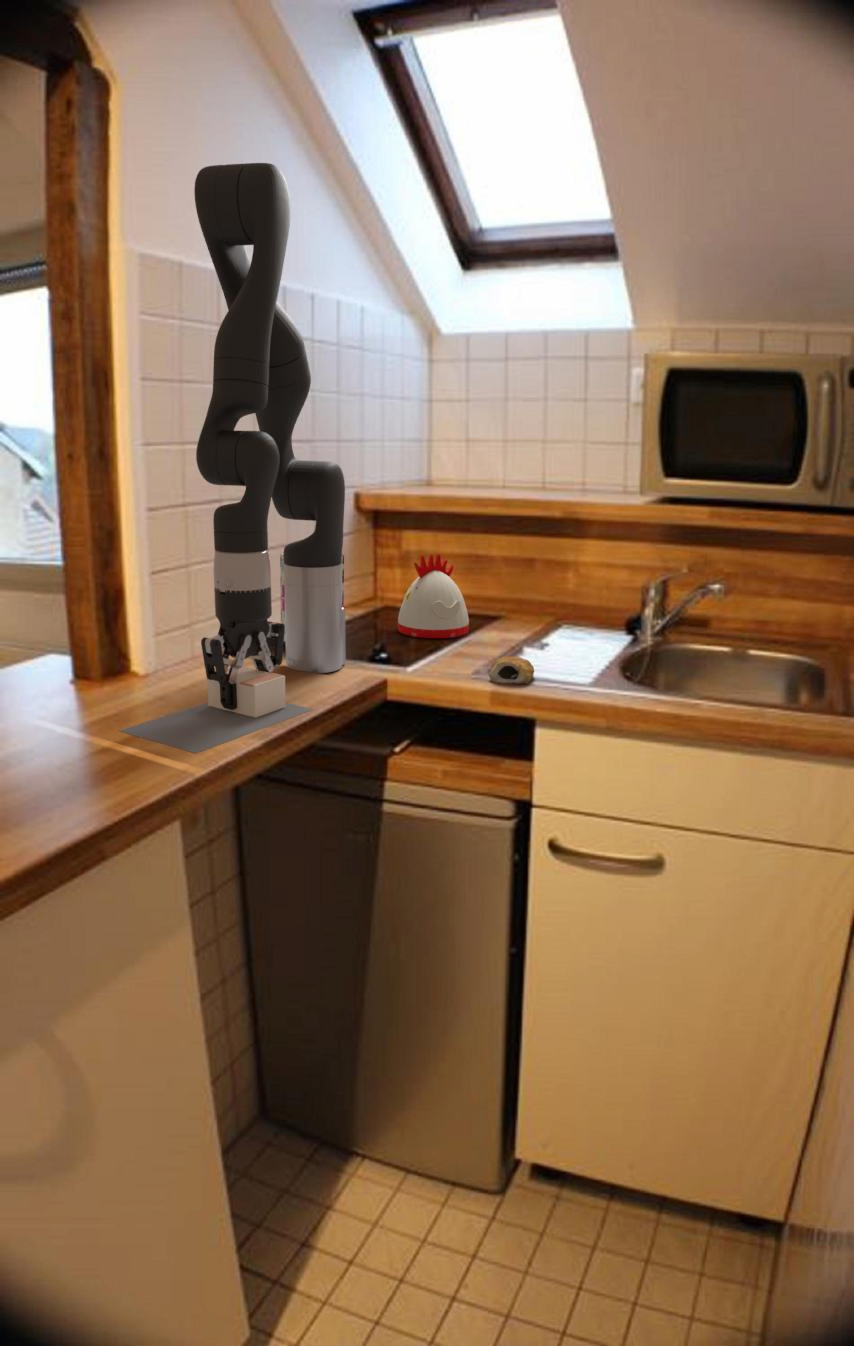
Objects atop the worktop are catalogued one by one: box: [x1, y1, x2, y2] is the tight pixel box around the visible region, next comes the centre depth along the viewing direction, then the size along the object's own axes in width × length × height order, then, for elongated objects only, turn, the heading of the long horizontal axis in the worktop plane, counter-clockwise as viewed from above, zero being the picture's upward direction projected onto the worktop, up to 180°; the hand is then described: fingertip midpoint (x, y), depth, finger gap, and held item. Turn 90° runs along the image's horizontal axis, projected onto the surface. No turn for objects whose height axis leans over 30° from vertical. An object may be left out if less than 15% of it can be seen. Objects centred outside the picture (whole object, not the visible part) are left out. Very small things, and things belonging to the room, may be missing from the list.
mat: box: [118, 702, 315, 754], centre depth 125 cm, size 22×14×1 cm, turn 147°
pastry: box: [488, 655, 535, 685], centre depth 150 cm, size 9×7×4 cm
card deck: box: [206, 666, 287, 718], centre depth 129 cm, size 6×9×4 cm, turn 57°
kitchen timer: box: [397, 553, 470, 639], centre depth 181 cm, size 14×14×15 cm
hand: (246, 702), depth 130 cm, fingers closed on card deck, 6 cm apart
